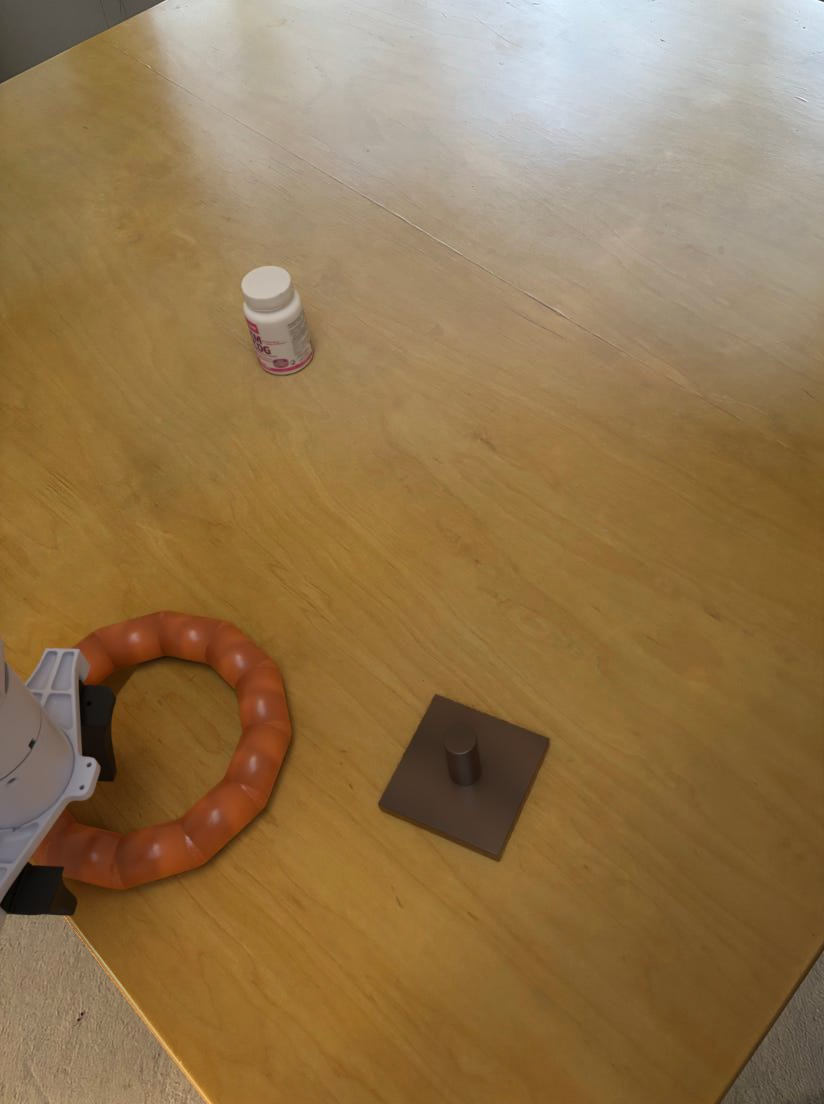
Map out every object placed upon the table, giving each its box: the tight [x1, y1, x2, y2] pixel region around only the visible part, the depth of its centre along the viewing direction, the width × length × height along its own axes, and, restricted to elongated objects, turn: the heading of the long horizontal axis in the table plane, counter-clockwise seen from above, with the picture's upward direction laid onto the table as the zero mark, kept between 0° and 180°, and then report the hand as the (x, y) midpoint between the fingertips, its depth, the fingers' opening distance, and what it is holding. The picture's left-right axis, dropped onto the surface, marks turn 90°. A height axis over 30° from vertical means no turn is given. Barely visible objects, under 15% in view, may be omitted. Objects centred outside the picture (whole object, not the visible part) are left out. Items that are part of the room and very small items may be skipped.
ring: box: [31, 609, 293, 891], centre depth 68 cm, size 18×18×3 cm
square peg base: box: [377, 693, 551, 862], centre depth 65 cm, size 8×8×6 cm
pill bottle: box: [240, 265, 314, 376], centre depth 88 cm, size 5×5×8 cm
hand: (79, 839), depth 62 cm, fingers open, 7 cm apart
